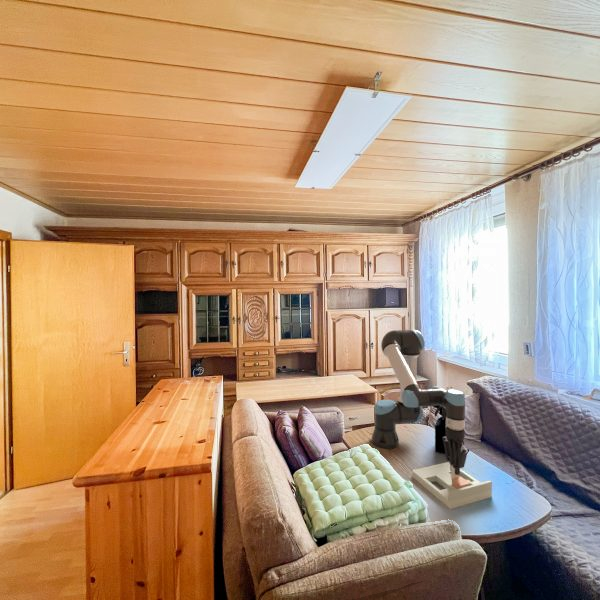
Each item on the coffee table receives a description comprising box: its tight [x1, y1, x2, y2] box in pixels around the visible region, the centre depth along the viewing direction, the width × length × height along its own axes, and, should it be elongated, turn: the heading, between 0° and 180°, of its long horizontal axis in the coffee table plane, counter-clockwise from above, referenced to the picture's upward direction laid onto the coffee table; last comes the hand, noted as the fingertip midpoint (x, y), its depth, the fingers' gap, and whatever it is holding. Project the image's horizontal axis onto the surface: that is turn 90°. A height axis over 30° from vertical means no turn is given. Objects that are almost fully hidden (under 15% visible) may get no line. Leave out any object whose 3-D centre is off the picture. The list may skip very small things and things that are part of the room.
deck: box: [411, 461, 493, 510], centre depth 138 cm, size 23×22×6 cm
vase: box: [432, 386, 453, 456], centre depth 168 cm, size 14×12×35 cm
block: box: [452, 476, 470, 489], centre depth 132 cm, size 5×5×3 cm
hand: (454, 480), depth 135 cm, fingers closed
